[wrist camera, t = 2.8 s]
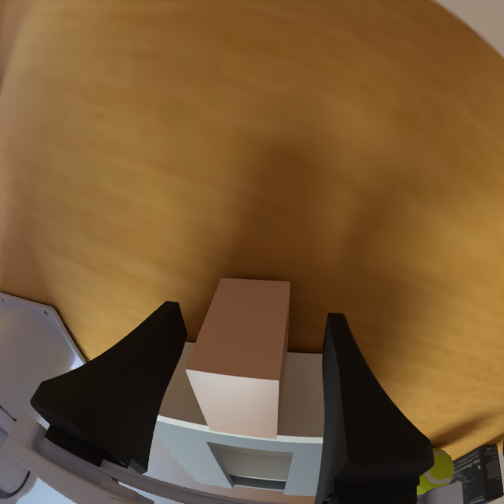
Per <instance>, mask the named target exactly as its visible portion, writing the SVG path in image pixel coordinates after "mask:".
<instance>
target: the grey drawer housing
mask: <svg viewBox="0 0 504 504" xmlns="http://www.w3.org/2000/svg"><path fill="white" fill-rule="evenodd" d="M154 435H155V436H156V438H157V439H158V440H159V441H160V442H161V444H162V445H163V446H164V447H165V448H166V449H167V450H168V452H169V453H170V454H171V455H172V456H173V457H174V458H175V460H176V461H177V462H178V463H179V464H180V465H181V466H182V467H183V468H184V469H185V470H186V471H187V472H188V473H189V475H190V476H192V478H194V480H195V481H196V482H201V483H205V484H210V485H215V486H221V487H226V488H233V485H235V486H242V487H249V488H257V489H267V490H277V491H284V495H301V496H316V492H317V486H318V479H319V472H320V464H321V455H322V445H323V443H295V442H280V441H268V440H259V439H250V438H242V437H235V436H228V435H222V434H216V433H211V432H205V431H200V430H195V429H190V428H186V427H181V426H177V425H173V424H169V423H165V422H161V421H156V425H155V430H154ZM214 443H217V444H223V445H229V446H235V447H242V448H250V449H258V450H268V451H279V452H293V453H292V458H291V462H290V467H289V471H288V475H287V480H286V481H275V480H264V479H255V478H247V477H240V476H234V475H229V473H228V471H227V469H226V468H225V466H224V464H223V462H222V460H221V458H220V456H219V454H218V452H217V449H216V447H215V445H214Z"/></svg>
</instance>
